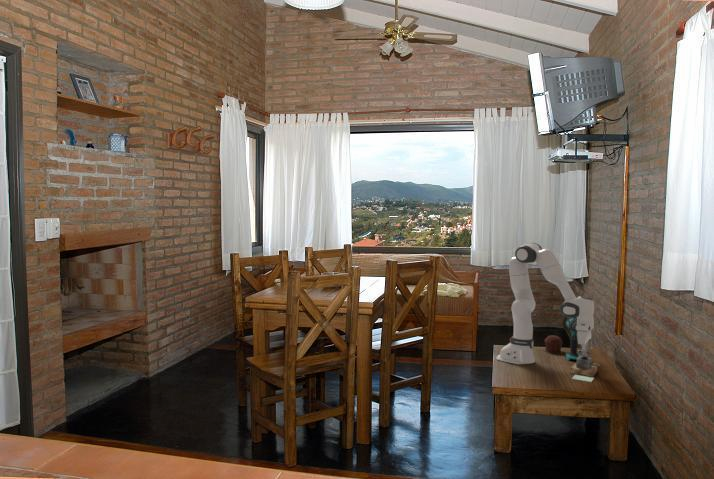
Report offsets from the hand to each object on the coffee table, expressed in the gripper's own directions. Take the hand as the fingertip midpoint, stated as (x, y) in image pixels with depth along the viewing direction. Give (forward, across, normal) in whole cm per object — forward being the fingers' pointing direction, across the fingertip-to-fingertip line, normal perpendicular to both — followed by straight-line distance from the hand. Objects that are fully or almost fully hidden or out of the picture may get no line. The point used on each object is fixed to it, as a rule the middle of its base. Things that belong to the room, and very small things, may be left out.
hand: (584, 349), depth 319 cm
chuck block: (+13, 0, +1) cm, 13 cm away
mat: (+13, +13, +2) cm, 19 cm away
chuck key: (+8, 0, 0) cm, 8 cm away
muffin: (+14, -38, -26) cm, 48 cm away
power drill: (+14, -24, -10) cm, 29 cm away
